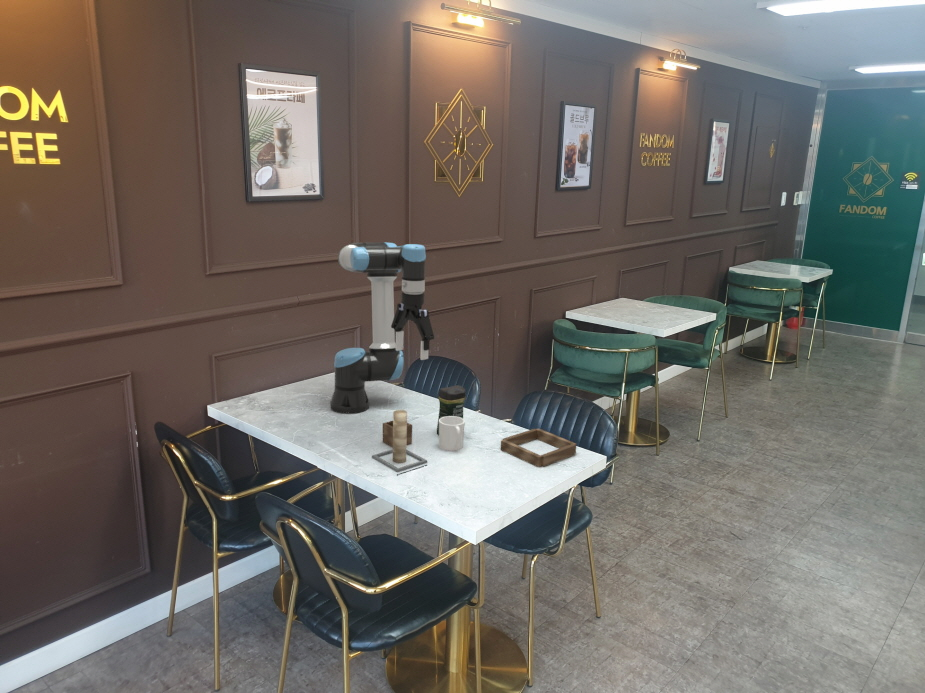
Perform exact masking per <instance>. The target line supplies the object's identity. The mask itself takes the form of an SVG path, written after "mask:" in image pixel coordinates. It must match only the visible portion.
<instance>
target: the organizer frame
mask: <svg viewBox="0 0 925 693" xmlns="http://www.w3.org/2000/svg"><path fill="white" fill-rule="evenodd" d="M535 440H538V441H540V442H543V443H545V444H547V445H550V446H552V447H555V448H556V449H553V450H552V451H551V450H550V451H549V452H546V453H543V454H538V453H536V452H534V451H531V450H529V449H527V448H526V447H525V448H524V447H522V446H521V445H523V444H526V443H529V442H533V441H535ZM500 451H502V452H504V453H506V454H508V455H511V456H512V457H515V458H517V459H519V460H522V461H524V462H526V463H528V464H530V465H533V466H535V467H537V468H541V467H546V466H550V465H551V464H554V463H558V462H560V461H562V460H565V459H567V458H570V457H573V456H575V455H576V453H577V442H576V443H575V442H573V441H572V440H568V439H565V438H563V437H561V436H558V435H556V434H554V433H551V432H548V431H546V430H544V429H541V428H539V427H538V428H531V429H529V430H525V431H523V432H522V431H521V432H520V433H516V434H513V435H511V436H507V437H504V438H502V439H501V440H500Z"/></svg>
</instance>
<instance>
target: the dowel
mask: <svg viewBox="0 0 925 693" xmlns="http://www.w3.org/2000/svg"><path fill="white" fill-rule="evenodd" d="M392 414H393V417H392V418H393V419H392V421H393V448H392V449H393V453H392V462H393V463H396V464H403V463H406V462H407V454H406V450H407V446H408V445H407V423H408V411H407V410H404V409H396V410H394V411H393V413H392ZM406 445H407V446H406Z"/></svg>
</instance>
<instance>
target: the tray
mask: <svg viewBox="0 0 925 693" xmlns="http://www.w3.org/2000/svg"><path fill="white" fill-rule="evenodd" d="M390 454H391V455H393V448H392V449H389V450H385V451H382V452H378V453H376V454H373V455H372V454H371V459H374V460H375V461H376V462H378V463H381V464H382V465H383V466H386V467H387V468H389V469H391V470H392V471H394V472H396V473H397V474H396V476H400V475H403V474H406V473H408V472H412V471H414V470H418V469H421V468H424V466H425V467H427V466H428V459H425V458H423V457H422V456H419V455H418V454H416V453H414V452H413V451H410V450H408V449H406V455H408V456H410V457H411V458H413V459H415V460H416V462H413V463H410V464H407V465H404V466H401V467H397V466H395V465H393V464H392V463H390V462H389V461H387V460H384V459H383V458H381V457H384V456H387V455H390ZM409 469H410V470H409Z"/></svg>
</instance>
